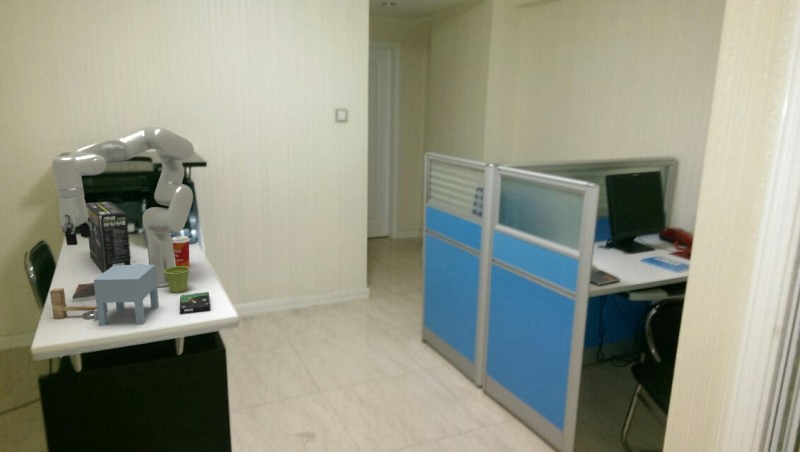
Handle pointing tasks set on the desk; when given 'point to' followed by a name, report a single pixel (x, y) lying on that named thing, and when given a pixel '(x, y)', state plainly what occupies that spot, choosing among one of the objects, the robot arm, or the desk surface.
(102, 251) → the router box
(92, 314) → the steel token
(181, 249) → the paper cup
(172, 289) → the plant pot
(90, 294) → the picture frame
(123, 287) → the blue-grey small table
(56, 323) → the desk surface
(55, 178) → the robot arm
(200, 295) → the disk drive
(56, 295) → the wooden mallet
